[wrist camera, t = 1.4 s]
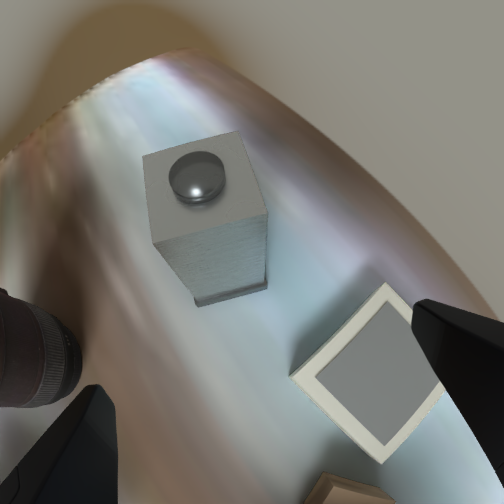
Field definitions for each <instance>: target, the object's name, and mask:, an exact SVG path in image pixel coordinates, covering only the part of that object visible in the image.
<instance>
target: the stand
mask: <svg viewBox="0 0 504 504" xmlns="http://www.w3.org/2000/svg"><path fill="white" fill-rule="evenodd" d="M412 313H413V310H412V309H411V308H410V307H409V306H408V305H407V304H406V303H405V302H404V301H403V300H402V298H401V297H400V296H399V295H398V294H397V293H396V292H395V291H394V290H393V289H392V288H391V287H390V286H389V285H388V284H387V283H386V282H385V283H384V284H382V285H381V286H380V287H379V288H377V289H376V290H375V291H374V292H373V293H372V294H371V295H370V296H369V297H368V298H367V299H366V300H365V301H364V303H363V304H362V305H361V306H360V307H359V308H358V309H357V310H356V311H355V312H354V313H353V314H352V315H351V316H350V317H349V318H348V320H347V321H346V322H345V323H344V324H343V325H342V326H341V327H340V328H339V329H338V330H337V331H336V332H335V333H334V334H333V335H332V336H331V337H330V338H329V339H328V340H327V341H326V342H325V343H324V344H323V345H322V346H321V347H320V348H319V349H318V350H317V351H316V352H315V353H313V354H312V355H311V356H310V357H309V358H308V359H307V360H306V361H305V362H304V363H303V364H302V365H301V366H300V367H299V368H298V369H296V370H295V371H294V372H293V373H292V374H291V375H290V376H289V378H290V379H291V380H292V381H293V382H294V383H295V384H296V385H297V386H298V387H299V388H300V389H301V390H302V391H303V392H304V393H305V394H306V395H307V396H308V397H309V398H310V399H311V400H312V401H313V402H314V403H315V404H316V405H317V406H318V407H319V408H320V409H321V410H322V411H323V412H324V413H325V414H326V415H327V416H328V417H329V418H330V419H331V420H332V421H333V422H334V423H335V424H336V425H337V426H338V427H339V428H340V429H341V430H342V431H343V432H344V433H345V434H346V435H347V436H348V437H349V438H350V439H352V440H353V441H354V442H355V443H356V444H357V445H358V446H359V447H360V448H361V449H362V450H363V451H364V452H365V453H366V454H367V455H369V456H370V457H371V458H373V459H374V460H376V461H377V462H379V463H380V464H383V463H384V462H385V461H386V460H387V459H388V458H389V457H390V456H391V455H392V454H393V453H394V451H395V450H396V449H397V448H398V447H399V446H400V445H401V444H402V443H403V442H404V441H405V440H406V438H407V437H408V436H409V435H410V434H411V433H412V432H413V431H414V429H415V428H416V427H417V426H418V425H419V424H420V422H421V421H422V420H423V419H424V417H425V416H426V415H427V414H428V413H429V411H430V410H431V409H432V407H433V406H434V405H435V404H436V402H437V401H438V400H439V398H440V397H441V396H442V394H443V393H444V392H445V390H446V389H445V388H444V386H443V385H442V383H441V382H440V380H439V379H438V377H437V376H436V374H435V373H434V371H433V369H432V368H431V366H430V364H429V362H428V360H427V358H426V356H425V355H424V353H423V351H422V349H421V347H420V345H419V344H418V342H417V340H416V338H415V336H414V335H413V333H412V330H411V320H412Z"/></svg>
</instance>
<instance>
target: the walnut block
mask: <svg viewBox="0 0 504 504" xmlns="http://www.w3.org/2000/svg"><path fill="white" fill-rule="evenodd" d="M395 502H396V501H395V500H394V499H392V498H391V497H390V496H389V495H388V494H386V493H385V492H384V491H383V490H382V489H380V488H379V487H375V486H371V485H367V484H363V483H360V482H356V481H353V480H349V479H346V478H342V477H339V476H336V475H333V474H330V473H327V472H324V471H323V473H322V475H321V476H320V478H319V480H318V481H317V483H316V484H315V486H314V488H313V489H312V491H311V492H310V494H309V495H308V497H307V498H306V500H305V501H304V503H303V504H395Z"/></svg>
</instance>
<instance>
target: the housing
mask: <svg viewBox="0 0 504 504" xmlns="http://www.w3.org/2000/svg"><path fill="white" fill-rule="evenodd" d="M142 158H143V169H144V179H145V189H146V198H147V206H148V214H149V222H150V229H151V236H152V243H153V245H154V246H155V247H156V249H157V250H158V251H159V253H160V254H161V255H162V257H163V258H164V259H165V261H166V262H167V263H168V265H169V266H170V267H171V268H172V270H173V271H174V272H175V274H176V275H177V276H178V277H179V279H180V280H181V281H182V282H183V284H184V285H185V286H186V287H187V289H188V290H189V291H190V292H191V294H192V295H193V296H194V300H195V305H196V306H197V307H202V306H206V305H210V304H214V303H217V302H221V301H225V300H229V299H232V298H236V297H240V296H244V295H247V294H251V293H254V292H258V291H262V290H265V289H267V282H266V279H265V276H264V273H265V256H266V238H267V219H268V212H267V209H266V206H265V203H264V200H263V198H262V195H261V192H260V189H259V186H258V184H257V181H256V178H255V175H254V172H253V170H252V167H251V164H250V161H249V159H248V156H247V153H246V150H245V148H244V145H243V142H242V140H241V137H240V134H239V131H236V132H231V133H227V134H222V135H218V136H214V137H210V138H206V139H202V140H198V141H194V142H190V143H186V144H183V145H179V146H175V147H172V148H168V149H165V150H162V151H158V152H155V153H152V154H148V155H145V156H142Z"/></svg>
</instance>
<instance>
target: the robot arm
mask: <svg viewBox="0 0 504 504" xmlns="http://www.w3.org/2000/svg"><path fill="white" fill-rule="evenodd" d="M411 330H412V333H413V335H414V336H415V338H416V340H417V342H418V344H419V345H420V347H421V349H422V351H423V353H424V355H425V356H426V358H427V360H428V362H429V364H430V366H431V368H432V369H433V371H434V373H435V374H436V376H437V377H438V379H439V380H440V382H441V383H442V385H443V386H444V388H445V389H446V391H447V392H448V394H449V395H450V397H451V398H452V400H453V402H454V403H455V405H456V406H457V408H458V409H459V411H460V413H461V414H462V416H463V417H464V419H465V421H466V422H467V424H468V425H469V427H470V429H471V430H472V432H473V434H474V435H475V437H476V439H477V440H478V442H479V444H480V446H481V447H482V449H483V451H484V452H485V454H486V456H487V458H488V460H489V461H490V463H491V465H492V467H493V469H494V470H495V473H496V474H497V476H498V478H499V480H500V482H501V484H502V486H503V488H504V323H503V322H500V321H497V320H494V319H490V318H487V317H484V316H481V315H478V314H475V313H471V312H468V311H465V310H462V309H459V308H455V307H452V306H449V305H446V304H443V303H439V302H436V301H433V300H430V299H423V300H421V301H418V302H416V303H415V304H414V306H413V313H412V320H411ZM0 504H118V447H117V433H116V412H115V406H114V403H113V402H112V400H111V399H110V397H109V396H108V395H107V393H106V392H105V390H104V389H103V388H102V386H100V385H99V384H94V385H87V386H86V387H85V388H84V389H83V390H82V391H81V392H80V393H79V394H78V395H77V396H76V398H75V399H74V400H73V401H72V402H71V403H70V404H69V405H68V407H67V408H66V409H65V410H64V411H63V412H62V413H61V415H60V416H59V417H58V418H57V419H56V420H55V421H54V423H53V424H52V425H51V426H50V427H49V428H48V429H47V431H46V432H45V433H44V434H43V435H42V436H41V438H40V439H39V440H38V441H37V442H36V443H35V445H34V446H33V447H32V448H31V449H30V450H29V452H28V453H27V454H26V455H25V456H24V458H23V459H22V460H21V461H20V462H19V464H18V466H16V467H15V468H14V469H13V471H12V472H11V473H10V474H9V475H8V477H7V478H6V479H5V480H4V481H3V482H2V484H1V485H0Z"/></svg>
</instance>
